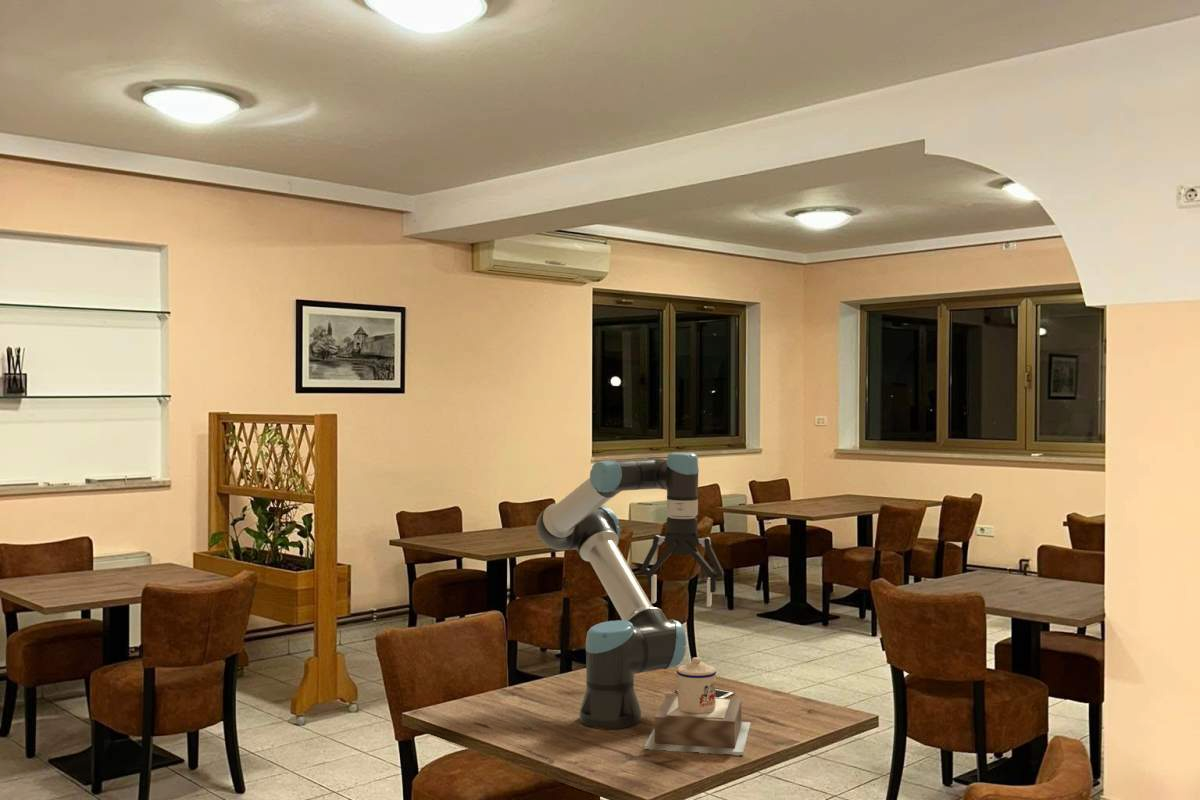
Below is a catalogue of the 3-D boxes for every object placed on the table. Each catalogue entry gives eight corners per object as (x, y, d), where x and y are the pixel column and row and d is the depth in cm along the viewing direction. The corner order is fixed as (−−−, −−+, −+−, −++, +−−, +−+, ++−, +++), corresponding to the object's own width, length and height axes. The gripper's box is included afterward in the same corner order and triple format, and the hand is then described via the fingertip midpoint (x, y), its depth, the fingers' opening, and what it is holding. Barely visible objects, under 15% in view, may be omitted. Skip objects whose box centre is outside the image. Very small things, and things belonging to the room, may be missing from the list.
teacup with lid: (705, 716, 236) (705, 664, 236) (669, 710, 241) (669, 659, 241) (728, 703, 246) (727, 653, 246) (693, 698, 251) (693, 649, 251)
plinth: (644, 749, 235) (644, 718, 235) (659, 720, 257) (659, 691, 257) (743, 755, 231) (742, 723, 231) (750, 725, 252) (750, 696, 252)
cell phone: (688, 687, 288) (688, 683, 288) (736, 696, 279) (736, 692, 279) (673, 693, 282) (673, 690, 282) (721, 702, 273) (721, 699, 273)
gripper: (628, 516, 254) (627, 603, 254) (731, 520, 247) (730, 610, 248) (635, 512, 261) (634, 597, 261) (735, 516, 255) (734, 603, 255)
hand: (681, 604), depth 255 cm, fingers open, 13 cm apart
